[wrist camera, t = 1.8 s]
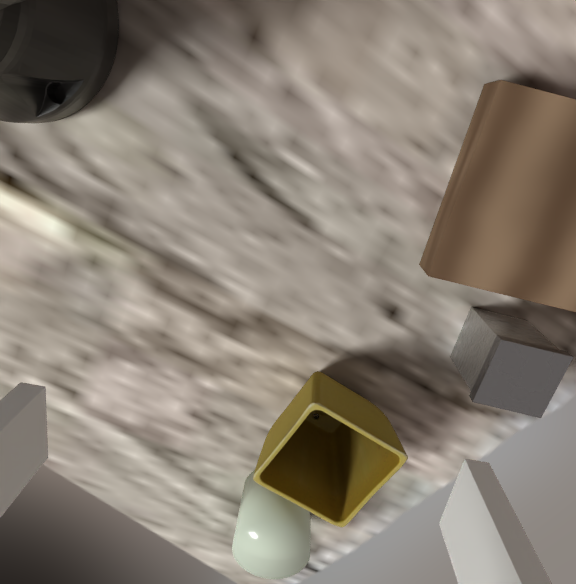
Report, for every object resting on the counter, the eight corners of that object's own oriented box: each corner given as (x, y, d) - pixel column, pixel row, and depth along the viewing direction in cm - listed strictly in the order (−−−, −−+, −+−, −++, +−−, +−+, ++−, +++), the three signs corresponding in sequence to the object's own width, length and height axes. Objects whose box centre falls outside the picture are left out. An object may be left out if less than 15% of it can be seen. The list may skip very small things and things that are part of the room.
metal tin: (447, 357, 40) (472, 401, 33) (469, 304, 38) (501, 339, 31) (504, 371, 40) (540, 418, 34) (529, 318, 38) (573, 357, 32)
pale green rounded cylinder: (237, 508, 47) (225, 569, 41) (251, 457, 45) (240, 514, 38) (301, 522, 47) (299, 585, 41) (318, 472, 45) (318, 531, 38)
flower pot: (313, 343, 40) (313, 401, 31) (391, 391, 41) (411, 459, 33) (262, 410, 43) (249, 480, 34) (336, 453, 44) (342, 530, 36)
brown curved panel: (419, 264, 37) (428, 275, 34) (484, 84, 32) (501, 79, 29) (581, 304, 37) (603, 319, 34) (670, 132, 32) (704, 133, 29)
